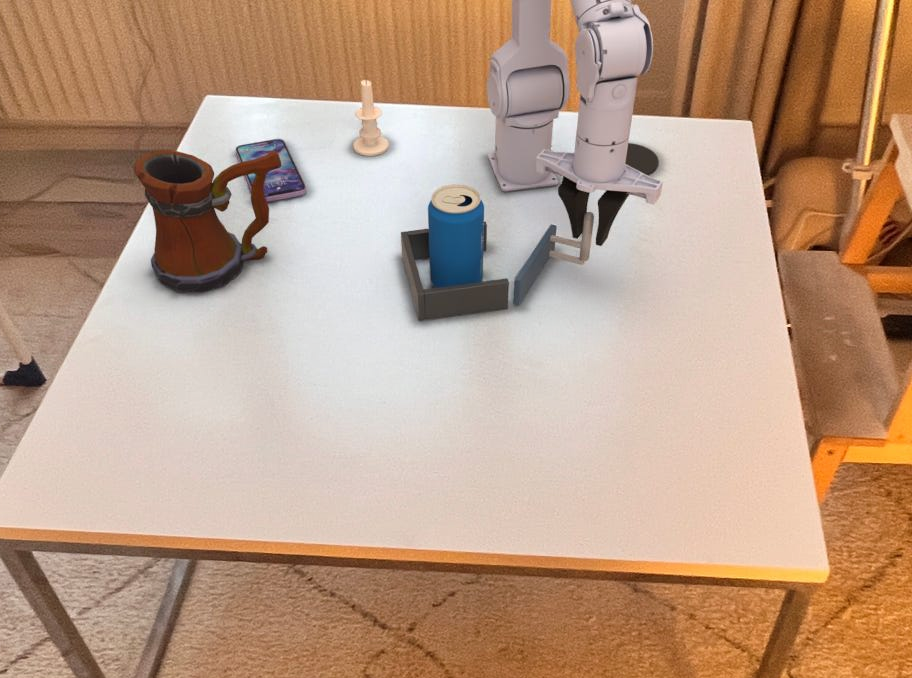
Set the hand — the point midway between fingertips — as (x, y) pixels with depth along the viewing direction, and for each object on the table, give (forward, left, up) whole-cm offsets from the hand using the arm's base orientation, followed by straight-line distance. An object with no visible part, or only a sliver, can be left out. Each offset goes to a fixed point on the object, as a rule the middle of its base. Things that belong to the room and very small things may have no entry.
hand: (589, 237), depth 111 cm
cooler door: (+1, -4, -5) cm, 7 cm away
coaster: (-24, +13, -5) cm, 28 cm away
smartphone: (-32, -37, -5) cm, 49 cm away
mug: (-12, -44, -6) cm, 46 cm away
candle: (-36, -22, -6) cm, 42 cm away
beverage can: (-2, -16, -6) cm, 17 cm away
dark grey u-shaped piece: (-2, -16, -5) cm, 17 cm away
